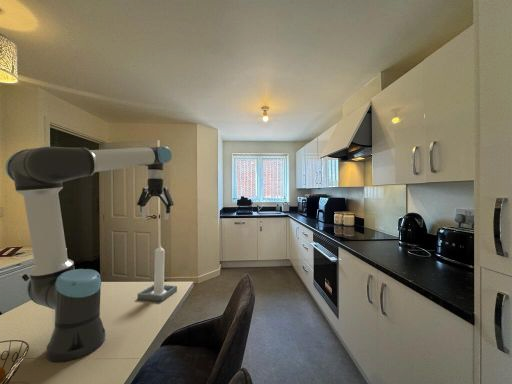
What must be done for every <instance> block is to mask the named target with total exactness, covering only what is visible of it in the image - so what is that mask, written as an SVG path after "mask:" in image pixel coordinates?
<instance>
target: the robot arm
mask: <svg viewBox="0 0 512 384" xmlns="http://www.w3.org/2000/svg"><path fill="white" fill-rule="evenodd" d="M172 154H173V153H172V150H171V149H170V148H169V147H168V146H164V145H163V146H160V145H159V146H151V147H150V146H149V147H148V146H147V147H128V148H112V149H111V148H110V149H109V148H108V149H94V150H93V149H91V150H90V149H88V148H87V147H63V146H40V147H33V148H25V149H22V150H18V151H16V152H15V153H13V154H12V155H10V156H9V158H8V159H7V160H6V162H5V171H6V174H7V176H8V177H9V178H10V179H11V180H12V181H13V182H14V188H15V189H14V190H15V192H16V193H17V194H20V195H21V196H22V197H23V201H24V207H25V214H26V221H27V225H28V226H27V227H28V231H29V233H28V234H29V239H30V243H31V244H30V245H31V250H32V256H33V261H34V262H33V263H34V267H33V268H32V269H31V270H30V271H29V278H30V279H29V280H28V282H27V284H26V288H25V289H26V290H25V291H26V295H27V297H28V298H29V299H30V300H31V301H32V302H33V303H34V304H36V305H38V306H42V307H46V308H48V309H50V310H51V309H52V310H54V327H53V328H54V329H53V331H52V335H51V337H50V339H49V342H48V343H47V346H46V349H45V351H46V352H45V357H46V359H47V360H48V361H50V362H54V363H55V362H56V363H57V362H60V363H61V362H68V361H72V360H76V359H79V358H82V357H84V356H87V355H89V354H90V353H93V352H94V351H96V350H97V349H98V348H100V347H101V346H102V345H103V344H104V342H105V341H106V329H105V328H104V324H103V321H102V319H101V316H100V315H101V312H100V311H101V290H102V289H101V287H102V281H101V278H102V277H101V274H100V273H99V272H98V271H97V270H95V269H92V268H91V269H90V268H86V269H85V268H78V269H77V268H76V269H75V267H76V266H75V263H74V261H73V260H72V259H69V257H68V252H67V245H66V239H65V232H64V224H63V218H62V211H61V204H60V203H61V202H60V197H59V192H60V191H62V189H64V187H63V183H64V182H67V181H72V180H75V179H80V178H83V177H90V176H93V175H94V174H95V173H98V172H99V173H100V172H105V171H111V170H120V169H126V168H127V169H128V168H134V167H141V166H145V167H147V176H146V177H147V181H146V182H147V186H148V187H142V190H141V194H140V196H139V198H138V201H137V203H136V205H137V206H139V207H140V213H141V220H147V206H146V205H147V204H148V202H149V201H150V200H151V198H153V197H158V198H159V199H160V200H161V202H162V203H163V205H164V207H163V210H164V211H163V221H167V220H169V218H170V217H169V216H170V213H171V207H172V206H174V205H175V204H174V202H173V199H172V197H171V194H170V192H169V188H168V187H163V186H164V179H163V178H164V164H167V163H170V161H172V157H173V155H172Z"/></svg>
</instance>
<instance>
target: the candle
mask: <svg viewBox="0 0 512 384" xmlns="http://www.w3.org/2000/svg"><path fill="white" fill-rule="evenodd" d="M165 255H166V253H165V249H164V248H163V246H162V244H161V243H159V244H158V247H157V248H156V249H154V279H153V281H154V282H153V285H154V291H153V292H152V293H151V294H153V295H163V294H164V293H166V292H167V291H166V290H164V285H165Z"/></svg>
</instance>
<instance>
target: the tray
mask: <svg viewBox="0 0 512 384" xmlns="http://www.w3.org/2000/svg"><path fill="white" fill-rule="evenodd" d="M164 290H166V291H167V292H166V293H164V294H163V295H153V294H151V293H152V292H153V291H154V284H153V285H151V286H149V287H147V288H146V289H143V290H142V291H140V292H138V293H137V300H141V301H150V302H164V301H165V300H167V299H168V298H169V297H170V296H172V295H174V294H175V293H176V292H177V291H178V286H177V285H171V284H170V285H169V284H168V285H167V284H164Z"/></svg>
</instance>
